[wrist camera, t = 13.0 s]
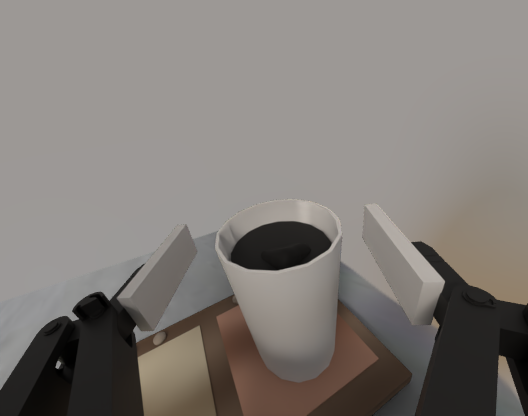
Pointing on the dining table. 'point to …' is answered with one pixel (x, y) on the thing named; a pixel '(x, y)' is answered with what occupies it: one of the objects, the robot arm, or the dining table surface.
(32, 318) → the dining table surface
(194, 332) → the tile board
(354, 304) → the dining table surface
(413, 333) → the dining table surface
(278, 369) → the white coffee cup
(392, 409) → the dining table surface
